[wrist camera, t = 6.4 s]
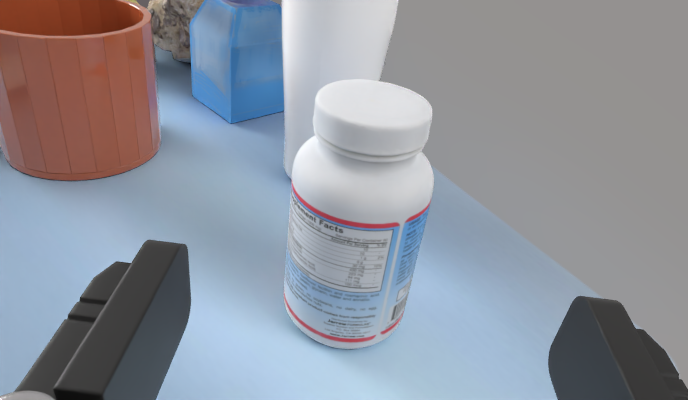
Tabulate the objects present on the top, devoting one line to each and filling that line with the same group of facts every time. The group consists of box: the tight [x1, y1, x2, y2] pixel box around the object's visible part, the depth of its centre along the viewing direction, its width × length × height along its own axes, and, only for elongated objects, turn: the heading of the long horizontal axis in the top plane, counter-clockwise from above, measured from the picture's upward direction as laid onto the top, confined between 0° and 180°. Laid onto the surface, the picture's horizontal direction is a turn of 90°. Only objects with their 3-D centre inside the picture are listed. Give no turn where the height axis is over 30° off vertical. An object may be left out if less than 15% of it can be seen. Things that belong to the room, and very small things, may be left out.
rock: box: [147, 0, 204, 62], centre depth 53 cm, size 9×12×10 cm
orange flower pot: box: [0, 0, 161, 180], centre depth 34 cm, size 10×10×9 cm
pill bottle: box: [284, 79, 434, 349], centre depth 23 cm, size 6×6×11 cm
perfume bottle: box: [189, 0, 284, 124], centre depth 42 cm, size 6×6×12 cm
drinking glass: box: [282, 0, 398, 179], centre depth 33 cm, size 7×7×15 cm
